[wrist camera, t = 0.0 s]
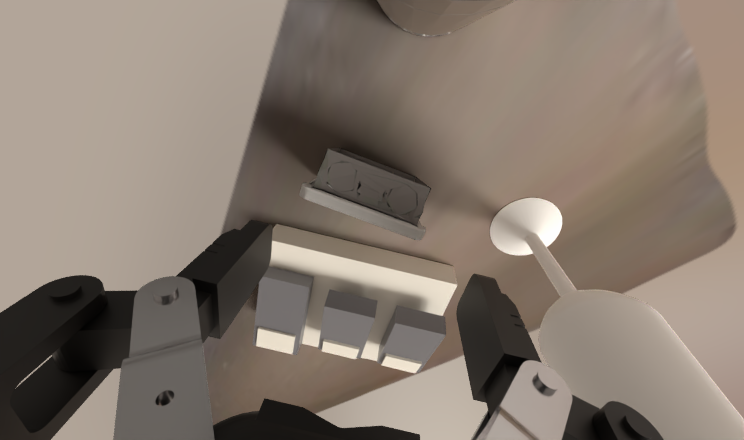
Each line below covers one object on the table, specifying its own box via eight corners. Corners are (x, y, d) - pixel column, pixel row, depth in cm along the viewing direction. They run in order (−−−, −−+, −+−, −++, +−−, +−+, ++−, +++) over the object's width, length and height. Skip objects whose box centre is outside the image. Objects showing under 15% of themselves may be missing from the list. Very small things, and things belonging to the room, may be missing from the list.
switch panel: (276, 223, 32) (262, 242, 29) (453, 266, 32) (458, 289, 29) (272, 315, 39) (260, 338, 36) (415, 349, 40) (415, 375, 36)
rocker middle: (329, 289, 29) (323, 308, 28) (377, 300, 29) (374, 321, 28) (322, 332, 35) (317, 351, 33) (363, 342, 35) (359, 361, 33)
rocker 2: (396, 305, 29) (395, 325, 28) (445, 316, 29) (446, 337, 28) (379, 346, 35) (376, 365, 33) (419, 355, 35) (418, 375, 33)
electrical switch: (321, 179, 29) (290, 217, 20) (336, 128, 27) (309, 147, 18) (408, 212, 30) (413, 262, 21) (430, 165, 27) (446, 200, 19)
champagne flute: (475, 228, 30) (632, 640, 9) (534, 183, 27) (981, 644, 6) (516, 266, 31) (730, 685, 10) (576, 228, 28) (1038, 705, 8)
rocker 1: (268, 265, 31) (258, 277, 29) (314, 276, 31) (308, 289, 29) (260, 332, 34) (251, 346, 32) (302, 341, 34) (296, 357, 32)
